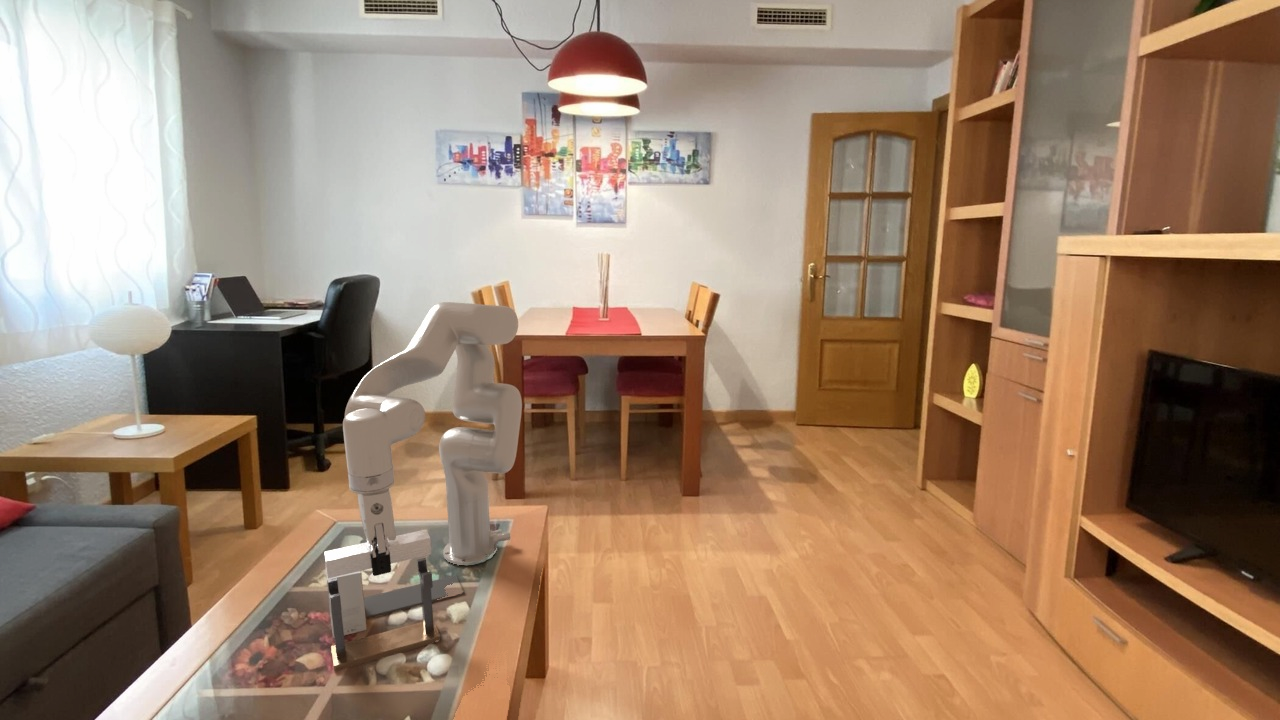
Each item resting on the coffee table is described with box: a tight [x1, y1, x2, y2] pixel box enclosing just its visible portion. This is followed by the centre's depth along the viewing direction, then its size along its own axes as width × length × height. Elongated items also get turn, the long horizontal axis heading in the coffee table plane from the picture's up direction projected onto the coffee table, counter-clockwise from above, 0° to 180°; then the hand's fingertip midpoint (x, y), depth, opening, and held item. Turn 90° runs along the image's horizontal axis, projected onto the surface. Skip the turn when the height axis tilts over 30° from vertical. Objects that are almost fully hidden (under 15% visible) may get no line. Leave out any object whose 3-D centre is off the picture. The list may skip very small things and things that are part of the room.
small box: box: [324, 561, 367, 639], centre depth 138 cm, size 8×6×13 cm
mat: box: [364, 574, 458, 620], centre depth 148 cm, size 20×7×1 cm, turn 118°
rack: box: [327, 557, 441, 672], centre depth 131 cm, size 19×6×15 cm, turn 118°
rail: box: [324, 528, 432, 579], centre depth 128 cm, size 18×4×4 cm, turn 118°
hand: (380, 566), depth 129 cm, fingers closed on rail, 3 cm apart
